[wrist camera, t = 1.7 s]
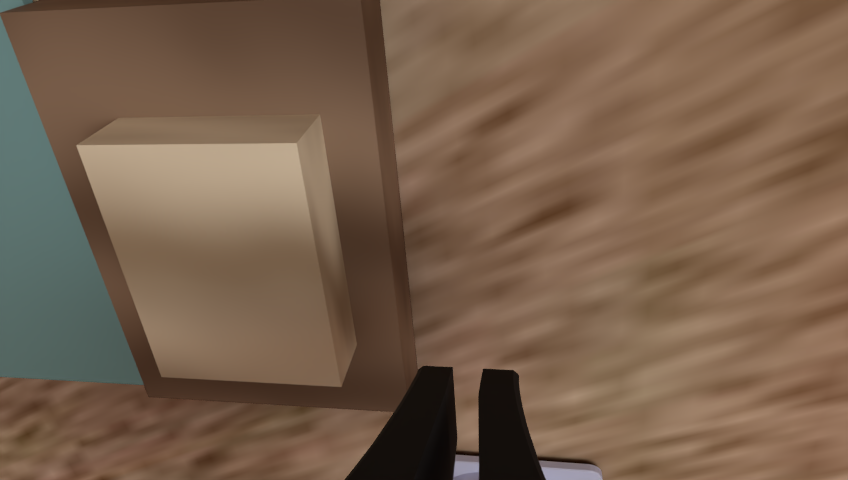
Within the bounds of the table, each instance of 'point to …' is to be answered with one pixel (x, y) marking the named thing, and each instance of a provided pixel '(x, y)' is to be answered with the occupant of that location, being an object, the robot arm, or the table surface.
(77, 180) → the board
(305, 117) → the block
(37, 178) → the teal mat
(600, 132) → the table surface
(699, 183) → the table surface
